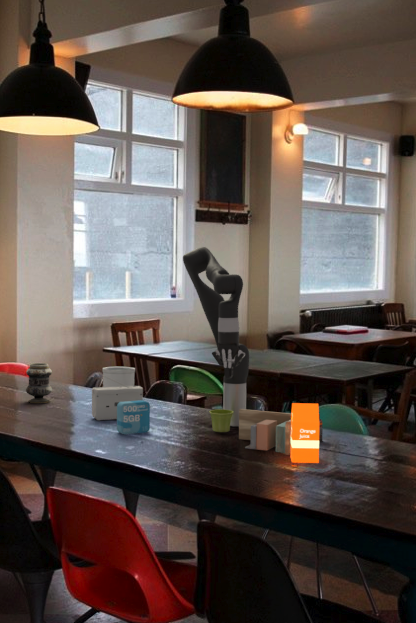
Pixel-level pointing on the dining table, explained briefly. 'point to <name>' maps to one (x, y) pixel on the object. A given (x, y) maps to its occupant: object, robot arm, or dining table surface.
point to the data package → (133, 417)
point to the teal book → (280, 437)
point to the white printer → (112, 399)
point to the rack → (255, 416)
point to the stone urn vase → (39, 382)
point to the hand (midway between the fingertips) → (228, 378)
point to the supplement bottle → (320, 429)
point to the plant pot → (221, 420)
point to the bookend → (253, 437)
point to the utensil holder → (118, 376)
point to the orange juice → (304, 433)
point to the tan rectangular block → (266, 434)
